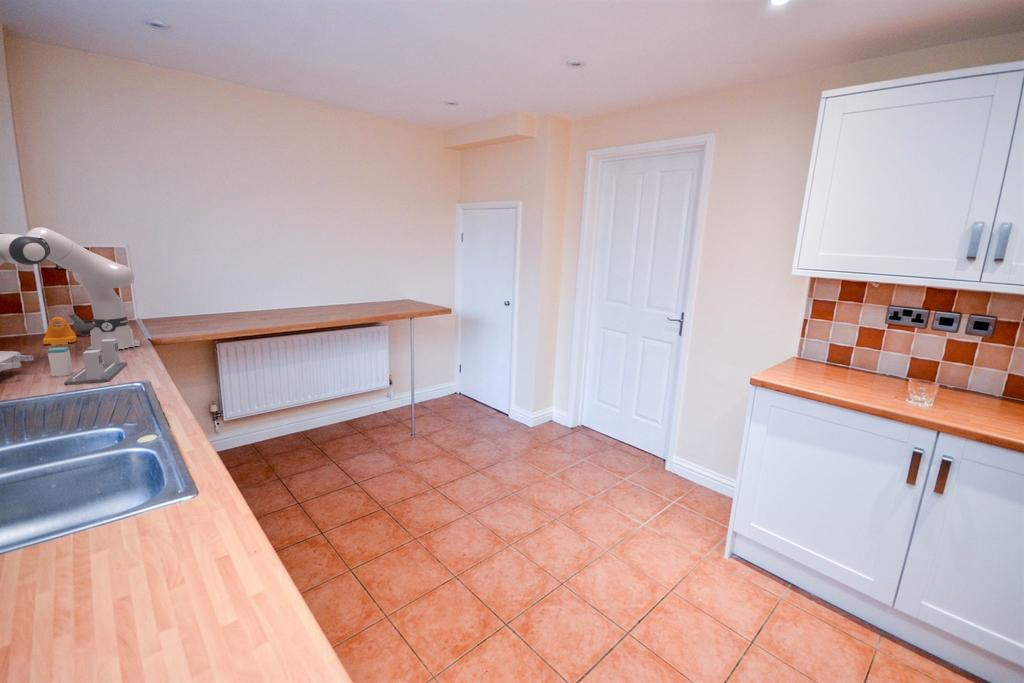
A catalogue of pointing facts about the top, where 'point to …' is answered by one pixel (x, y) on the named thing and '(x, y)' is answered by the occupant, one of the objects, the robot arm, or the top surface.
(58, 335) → the bracket
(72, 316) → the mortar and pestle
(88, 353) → the base plate with posts
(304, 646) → the top surface
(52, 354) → the block
